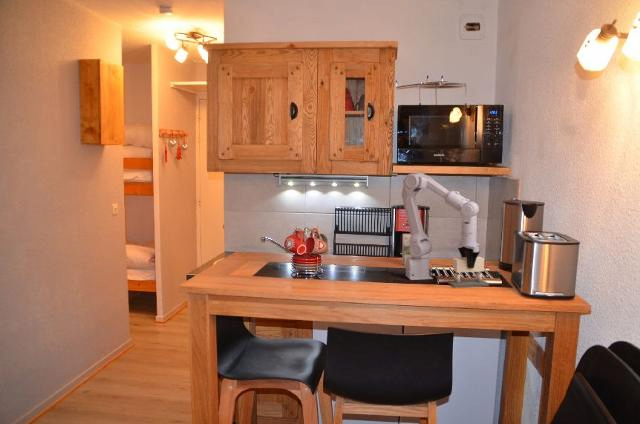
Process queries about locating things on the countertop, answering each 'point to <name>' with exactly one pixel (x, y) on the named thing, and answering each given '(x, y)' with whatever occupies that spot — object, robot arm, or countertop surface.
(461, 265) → the beige rectangular block
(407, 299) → the countertop surface
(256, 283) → the countertop surface
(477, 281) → the peg stand
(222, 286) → the countertop surface
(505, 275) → the countertop surface
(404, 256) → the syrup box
